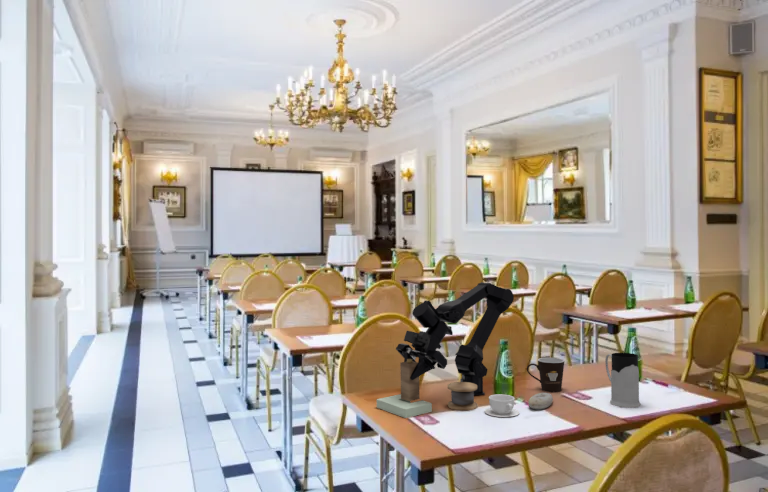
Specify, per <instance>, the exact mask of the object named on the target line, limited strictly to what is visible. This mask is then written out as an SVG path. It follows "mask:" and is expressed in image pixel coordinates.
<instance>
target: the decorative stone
mask: <svg viewBox="0 0 768 492" xmlns="http://www.w3.org/2000/svg"><path fill="white" fill-rule="evenodd" d="M553 400H554V397H553V396H552V394H551V393H550V392H538V393H536V394H533V395H532V396H531V397H530V398H529V399H528V406H529V408H531V409H532V410H544V409H547V408H548V407H550V406H552V404H553Z"/></svg>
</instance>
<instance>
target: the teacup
mask: <svg viewBox="0 0 768 492" xmlns="http://www.w3.org/2000/svg"><path fill="white" fill-rule="evenodd" d="M515 399H516V398H515V396H512V395H509V394H501V393H500V394H499V393H498V394H496V393H495V394H491V395H489V396H488V401H489V406H490V407H488V408H486V409H485V410H484V413H485V414H487V415H489V416H492V417H498V418H511V417H516V416H518V415H520V411H519V410H517V409H515V408H514V407H515Z"/></svg>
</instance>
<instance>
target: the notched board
mask: <svg viewBox="0 0 768 492" xmlns="http://www.w3.org/2000/svg"><path fill="white" fill-rule="evenodd" d="M376 408H377V409H379V410H383V411H385V412H388V413H391V414H393V415H396V416H399V417H401V418H404V419H408V418H412V417H415V416H418V415H419V416H420V415H423V414H427V413H432V411H433V410H432V409H433V408H432V402H430V401H425V400H423V399H422V400H416V401H413V402H412V401H407V400H404V399H401V393H400V394H395V395H391V396H386V397H380V398H377V399H376ZM411 416H412V417H411Z"/></svg>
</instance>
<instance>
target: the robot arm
mask: <svg viewBox="0 0 768 492" xmlns="http://www.w3.org/2000/svg"><path fill="white" fill-rule="evenodd" d="M484 298H485V299H486V300H485V301H486V309H485V311H484V313H483V315H482V317H481V319H480V321H479V323H478V325H477V327H476V329H475V330H474V332H473V334H472V337H471V339H470V340H469V342H468V343H467V344H460V346H459V348H458V350H457V352H456V353H455V358H454V362H455V367H456V370H457V373H458V374H461V378H460V381H459V382H469V383H474V384H476V385H477V390H475V391H474V396H482V395H483V396H484V395H485V394H486V393H485V392H484V377H486V376H487V373H488V368H487V367H486V366H485V365H484V363H483V360H484V352H483V350H484V349H485V347H486V344H487V342H488V340H489V339H490V338H489V337H490V336H491V333H492V332H493V330H494V328H495V325H496V324H497V322H498V320H499V318H500V316H501V314H503V313H504V312H506V311H507V310H508V309H509V308H510V307H511V305H512V304H513V302H514V301H515V300H514V299H515V297H514V293H513V291H512V290H511V289H510V288H503V287H500V286H498V285H495V284H493V283H490V282H484V281H483V282H482V281H481V282H479V283H477V285H475V286H474V287H473V288H471V289H469V290H468V291H467V292H465V293H464V294H462V295H461V296H459V297H457V298H456V299H454V300H448V301H446V302H443V303H441V304H439V305H438V306H437V307H436V308H435V307H434V306H433V304H432V303H431V301H430V300H424V301H423V302H422V303H419V304H418V305H417V306H415V307H414V308H413V310H412V316H413V317H414V318H415V319H416V321H417V322H418V323H419V324H420V325H421V326H422V327H423V328H424V329H426V331H423V330H420V331H419V332H415V331H411V330H406V332H405V335H404V338H403V341H404V342H408V343H410V344H411V345H409V344H407V343H402V342H401V343H398V345H397V346H396V348H395V350H396V351H397V352H398V353H399V354H400V355H401V357H402V358H403V359H404V360H403V362H406V361H407V359H412V361H414V362H418V364H417V366H416V367H415V369H414V371H413V372H412V374H411V377H410V379H411V380H414V379H415V378H417V377H419V378H420V376H422V375H424V374H425V373H427V372H430V371H433V370H435V369H436V366H437V368H438V369H442V370H444V369H445V368H446V367H447V365H448V359H447V357H445V356H444V355H443V354H442V352H441V351H440V349H441V348H442V346H441V343H442V342H443V340H444V338H445V337H446V335H449V336H453V330H452V329H453V328H452V326H450V325H447V323H448V324H457V323H458V322H460V320H462V319H463V318H464V316H465V314H466V312H467V311H468V310H469V309H470V308H472V307H473V306H475V305H476V304H478V303H479V302H480V301H482V300H483V299H484ZM437 349H438V350H437ZM416 358H418V361H416ZM435 365H436V366H435Z"/></svg>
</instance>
